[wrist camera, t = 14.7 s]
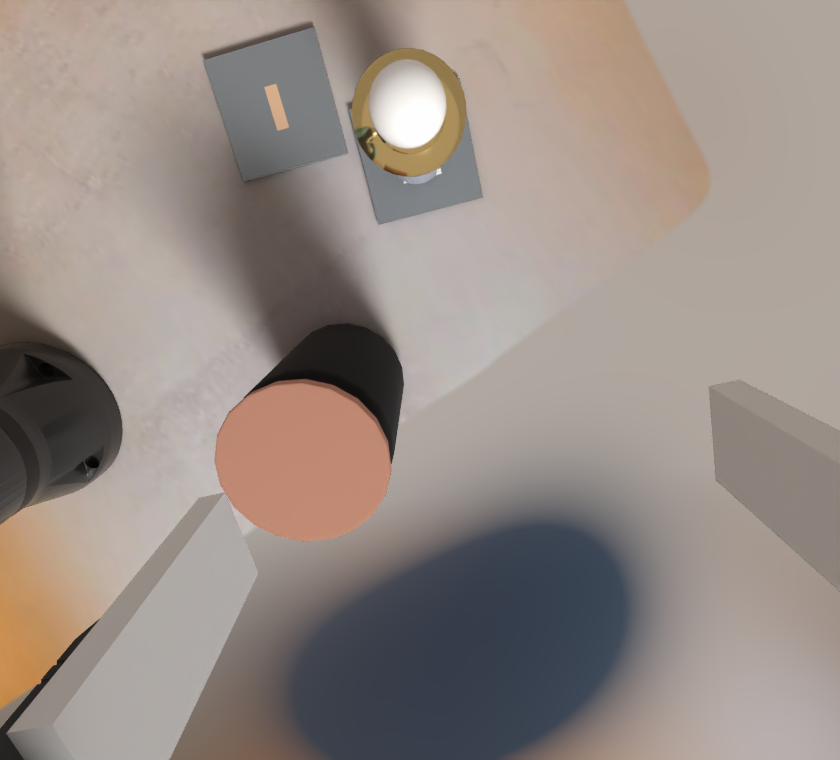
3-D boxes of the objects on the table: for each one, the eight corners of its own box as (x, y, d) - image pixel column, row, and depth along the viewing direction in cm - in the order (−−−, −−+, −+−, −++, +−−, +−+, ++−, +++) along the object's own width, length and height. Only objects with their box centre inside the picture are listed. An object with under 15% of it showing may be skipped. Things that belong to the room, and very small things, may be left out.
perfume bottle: (441, 200, 41) (453, 183, 22) (373, 182, 41) (327, 150, 22) (459, 125, 40) (489, 38, 21) (389, 106, 39) (353, -1, 20)
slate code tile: (379, 224, 43) (378, 224, 42) (349, 110, 40) (348, 109, 39) (482, 197, 42) (482, 197, 41) (459, 79, 39) (459, 77, 39)
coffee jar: (290, 316, 45) (207, 375, 28) (407, 324, 45) (396, 388, 28) (292, 424, 48) (218, 536, 31) (401, 432, 48) (387, 547, 31)
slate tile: (245, 181, 42) (243, 181, 41) (206, 62, 39) (202, 60, 38) (348, 153, 41) (347, 152, 40) (315, 29, 38) (313, 26, 38)
